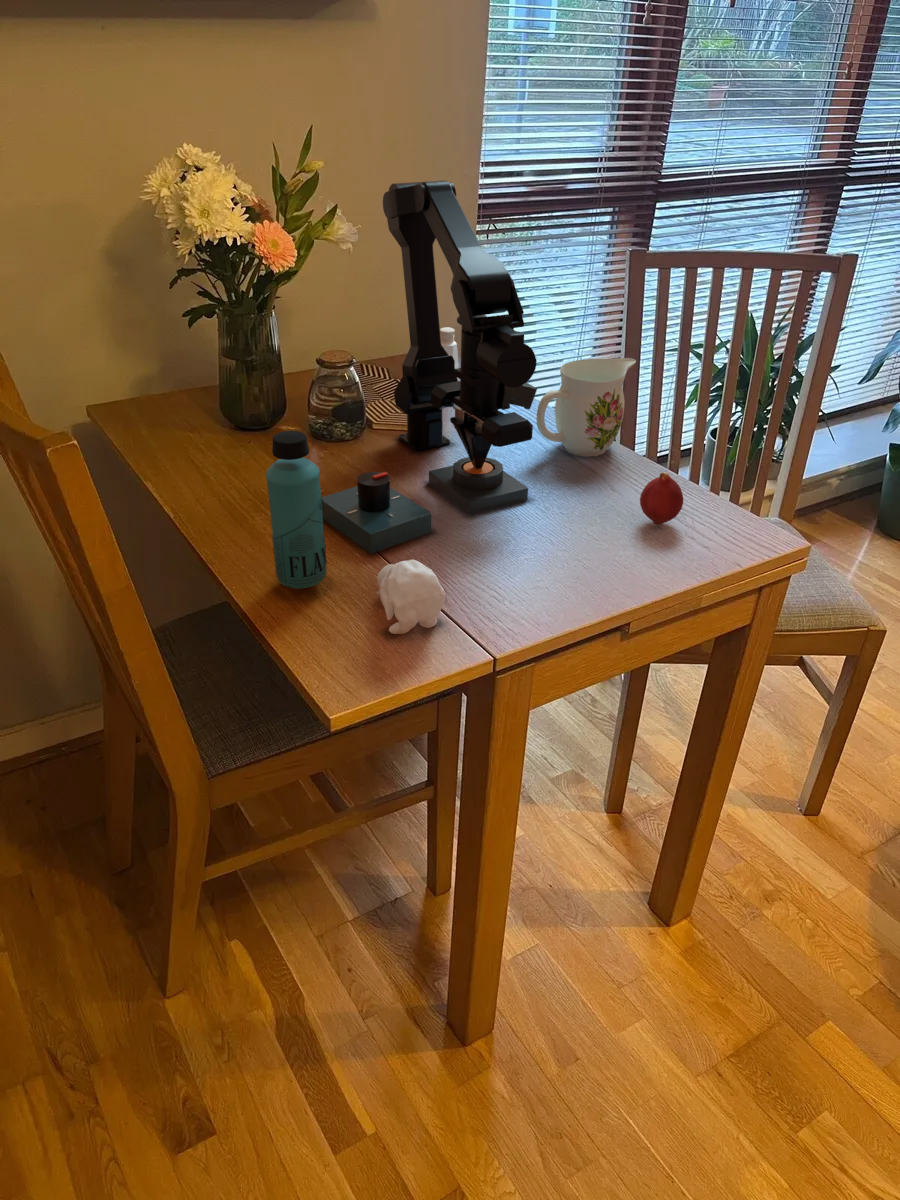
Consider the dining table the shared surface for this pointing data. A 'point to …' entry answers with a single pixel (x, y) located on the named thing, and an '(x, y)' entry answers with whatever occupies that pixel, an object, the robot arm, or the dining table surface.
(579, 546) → the dining table surface
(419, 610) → the white lumpy figure
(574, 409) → the pitcher
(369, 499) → the dial
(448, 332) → the pepper shaker
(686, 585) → the dining table surface
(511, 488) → the button base
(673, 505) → the onion
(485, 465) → the button
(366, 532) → the dial console
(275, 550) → the beverage bottle
